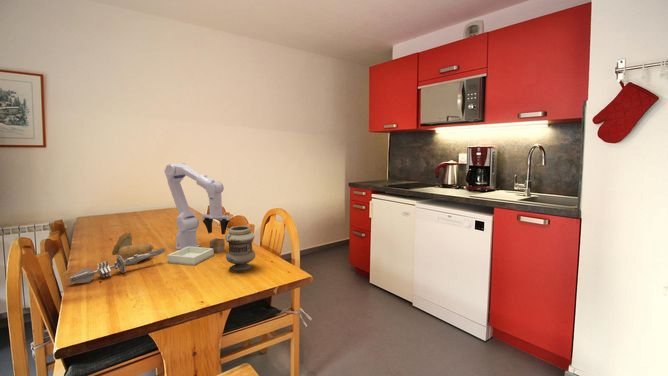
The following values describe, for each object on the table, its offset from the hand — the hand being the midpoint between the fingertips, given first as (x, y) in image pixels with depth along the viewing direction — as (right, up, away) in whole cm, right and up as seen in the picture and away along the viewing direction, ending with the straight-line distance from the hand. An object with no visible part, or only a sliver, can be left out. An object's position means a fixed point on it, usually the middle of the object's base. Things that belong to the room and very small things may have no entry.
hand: (216, 233), depth 161 cm
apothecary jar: (+19, -12, -22) cm, 31 cm away
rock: (-48, -9, +1) cm, 48 cm away
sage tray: (-8, -10, -10) cm, 17 cm away
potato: (-32, -11, -13) cm, 36 cm away
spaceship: (-29, -13, -27) cm, 42 cm away
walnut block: (0, -9, +1) cm, 9 cm away
